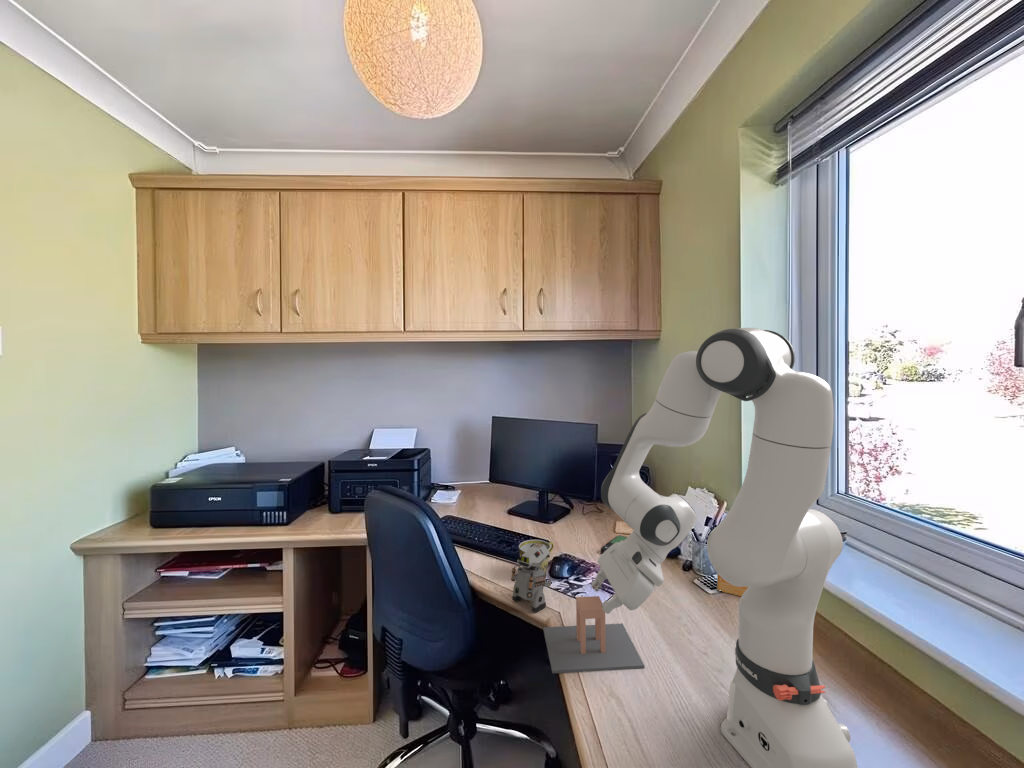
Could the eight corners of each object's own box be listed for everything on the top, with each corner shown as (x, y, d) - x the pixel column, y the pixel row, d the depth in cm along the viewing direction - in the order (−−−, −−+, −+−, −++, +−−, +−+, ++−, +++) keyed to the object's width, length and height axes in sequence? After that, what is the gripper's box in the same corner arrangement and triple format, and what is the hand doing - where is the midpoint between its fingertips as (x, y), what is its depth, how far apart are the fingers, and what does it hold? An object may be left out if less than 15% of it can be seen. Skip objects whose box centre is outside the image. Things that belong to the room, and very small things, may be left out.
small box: (717, 591, 121) (717, 547, 121) (718, 581, 127) (718, 538, 126) (749, 598, 117) (749, 552, 117) (749, 588, 123) (749, 544, 122)
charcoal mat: (644, 668, 91) (644, 665, 91) (552, 673, 90) (552, 670, 90) (622, 625, 106) (622, 623, 106) (543, 629, 105) (543, 627, 105)
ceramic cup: (534, 589, 124) (533, 556, 124) (512, 577, 132) (511, 545, 131) (564, 575, 132) (564, 543, 132) (542, 564, 140) (542, 534, 140)
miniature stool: (605, 652, 95) (605, 609, 95) (581, 653, 95) (581, 610, 95) (599, 637, 101) (599, 596, 100) (576, 638, 101) (576, 597, 100)
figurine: (559, 599, 119) (559, 547, 118) (531, 616, 111) (530, 560, 110) (536, 587, 125) (535, 537, 125) (507, 602, 117) (506, 549, 117)
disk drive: (629, 564, 140) (645, 547, 152) (629, 555, 140) (645, 540, 152) (600, 555, 147) (618, 541, 159) (600, 547, 147) (618, 533, 158)
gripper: (616, 529, 108) (579, 568, 108) (646, 565, 87) (600, 614, 87) (633, 545, 108) (596, 585, 108) (667, 585, 88) (621, 634, 88)
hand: (598, 598), depth 97 cm, fingers open, 8 cm apart
